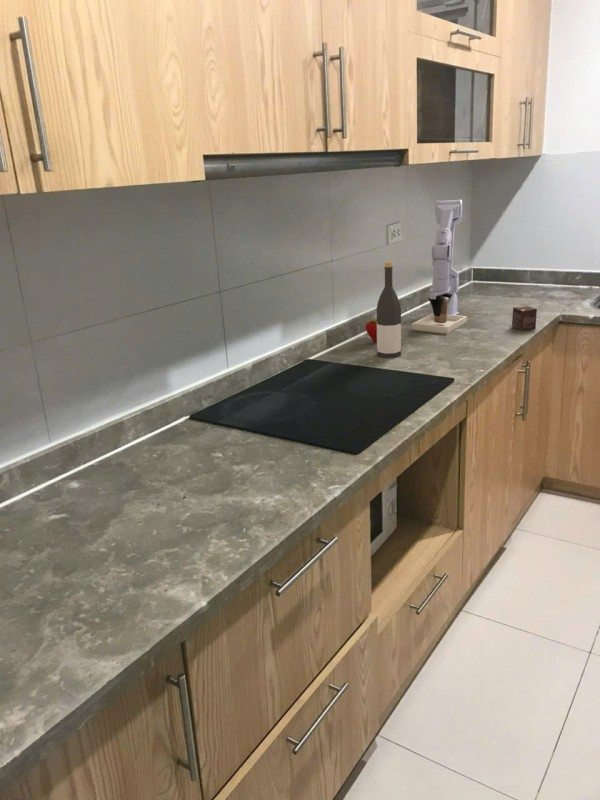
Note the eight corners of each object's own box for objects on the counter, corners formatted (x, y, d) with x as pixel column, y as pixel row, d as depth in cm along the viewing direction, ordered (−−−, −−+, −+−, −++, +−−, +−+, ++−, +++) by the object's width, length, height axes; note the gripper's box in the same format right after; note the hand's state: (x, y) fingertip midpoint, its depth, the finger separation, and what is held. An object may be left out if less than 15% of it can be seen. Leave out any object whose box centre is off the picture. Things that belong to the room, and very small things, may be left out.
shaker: (439, 319, 243) (442, 295, 239) (449, 322, 239) (451, 298, 236) (431, 321, 240) (433, 297, 237) (440, 324, 237) (442, 300, 233)
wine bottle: (372, 353, 213) (370, 261, 202) (393, 349, 215) (393, 259, 205) (383, 359, 206) (383, 265, 195) (406, 355, 208) (406, 262, 198)
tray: (432, 319, 251) (432, 313, 250) (466, 322, 244) (467, 316, 243) (411, 330, 238) (411, 323, 237) (447, 334, 230) (447, 327, 229)
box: (525, 325, 236) (527, 305, 234) (536, 328, 231) (537, 308, 228) (511, 327, 234) (512, 307, 232) (521, 330, 229) (522, 310, 226)
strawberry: (371, 339, 229) (370, 311, 226) (389, 341, 225) (389, 313, 221) (362, 343, 225) (361, 315, 222) (380, 345, 221) (380, 317, 217)
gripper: (438, 274, 242) (438, 309, 247) (422, 280, 231) (421, 317, 236) (456, 275, 238) (455, 311, 243) (440, 282, 227) (439, 319, 232)
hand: (440, 314), depth 239 cm, fingers closed on shaker, 4 cm apart
